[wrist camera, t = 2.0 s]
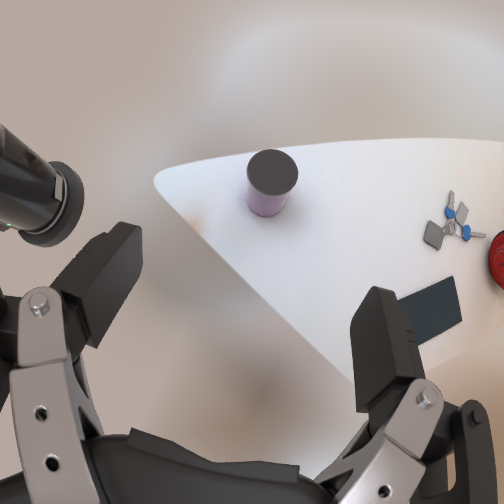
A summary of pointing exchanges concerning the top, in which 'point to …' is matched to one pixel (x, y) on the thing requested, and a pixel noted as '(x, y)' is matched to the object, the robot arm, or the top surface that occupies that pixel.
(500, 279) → the headphones
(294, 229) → the top surface
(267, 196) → the tin
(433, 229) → the key chain
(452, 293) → the mat
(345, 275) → the top surface
